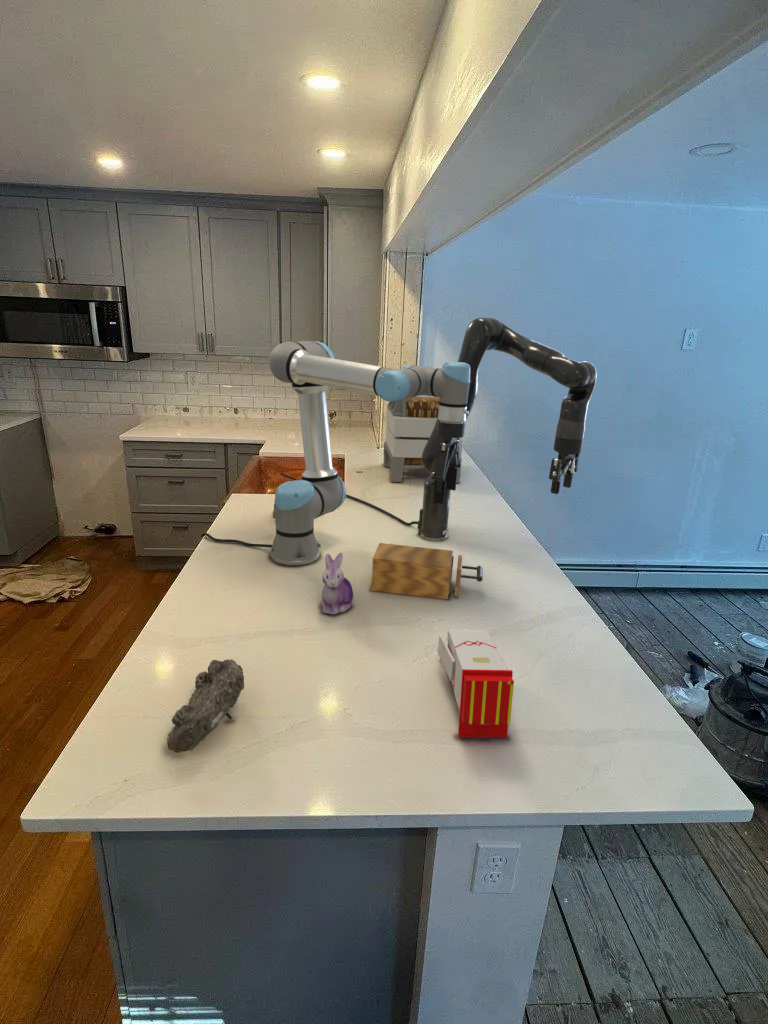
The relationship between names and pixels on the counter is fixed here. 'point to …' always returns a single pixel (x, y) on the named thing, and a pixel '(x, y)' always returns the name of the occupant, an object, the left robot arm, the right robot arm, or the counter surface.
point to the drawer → (459, 576)
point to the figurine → (335, 587)
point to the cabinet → (412, 570)
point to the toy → (478, 682)
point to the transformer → (410, 433)
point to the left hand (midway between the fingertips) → (444, 496)
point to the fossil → (206, 705)
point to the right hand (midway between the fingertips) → (560, 490)
